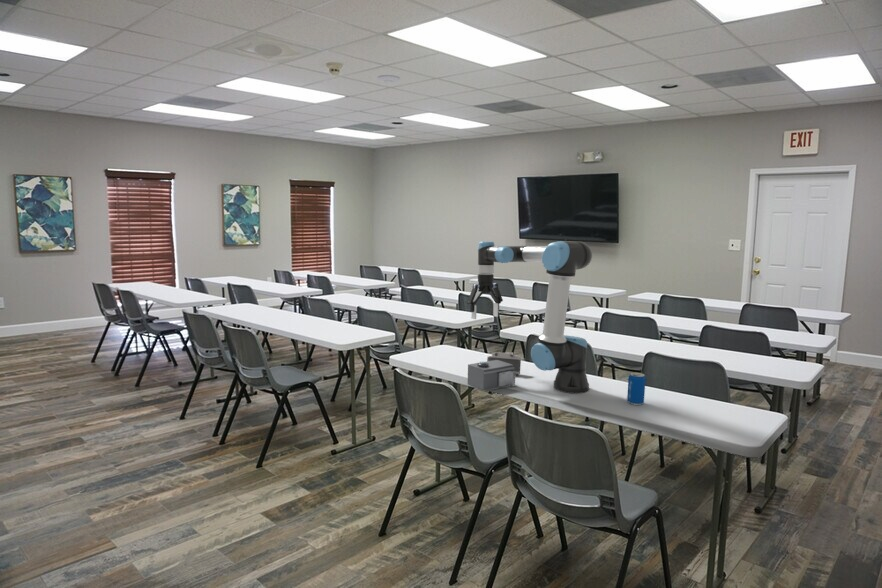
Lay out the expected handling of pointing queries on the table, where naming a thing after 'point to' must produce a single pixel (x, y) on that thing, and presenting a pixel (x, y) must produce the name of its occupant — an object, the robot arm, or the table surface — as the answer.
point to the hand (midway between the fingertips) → (484, 317)
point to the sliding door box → (487, 374)
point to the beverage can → (636, 388)
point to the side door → (506, 378)
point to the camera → (507, 359)
